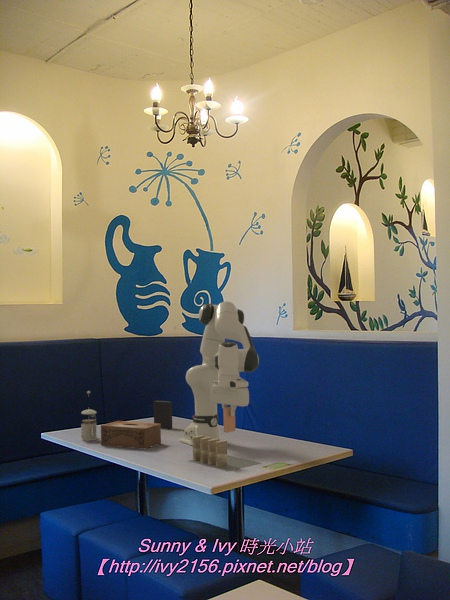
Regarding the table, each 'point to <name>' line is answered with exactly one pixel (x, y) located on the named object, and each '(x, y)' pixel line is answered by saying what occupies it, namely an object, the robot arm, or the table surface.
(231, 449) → the table surface
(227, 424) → the end domino
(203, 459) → the domino
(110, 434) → the tissue box cover
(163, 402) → the black rectangular slab
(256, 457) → the table surface
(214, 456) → the domino
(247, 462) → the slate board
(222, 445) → the domino
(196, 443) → the domino
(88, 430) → the french press
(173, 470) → the table surface
